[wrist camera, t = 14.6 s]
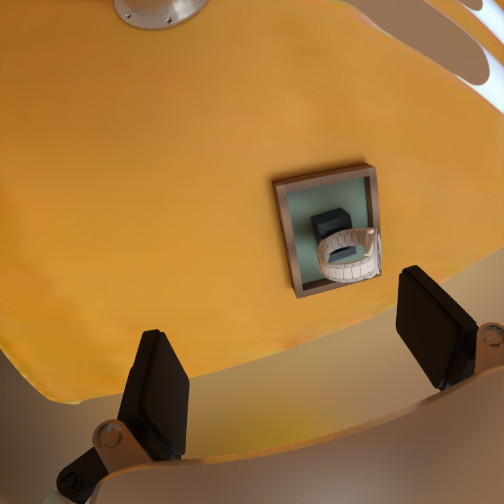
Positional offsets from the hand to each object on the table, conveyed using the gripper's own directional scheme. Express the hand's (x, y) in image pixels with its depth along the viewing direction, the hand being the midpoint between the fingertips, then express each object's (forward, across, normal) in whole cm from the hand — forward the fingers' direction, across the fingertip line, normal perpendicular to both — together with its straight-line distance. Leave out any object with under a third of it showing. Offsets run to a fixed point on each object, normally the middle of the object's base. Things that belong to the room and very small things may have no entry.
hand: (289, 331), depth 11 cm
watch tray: (+28, -10, +9) cm, 31 cm away
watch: (+27, -10, +9) cm, 30 cm away
